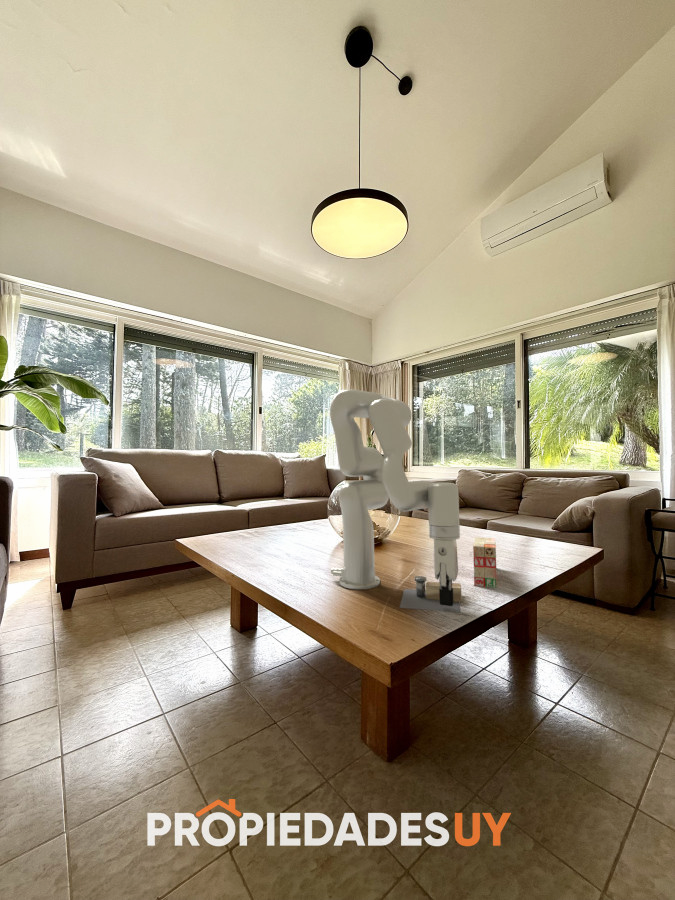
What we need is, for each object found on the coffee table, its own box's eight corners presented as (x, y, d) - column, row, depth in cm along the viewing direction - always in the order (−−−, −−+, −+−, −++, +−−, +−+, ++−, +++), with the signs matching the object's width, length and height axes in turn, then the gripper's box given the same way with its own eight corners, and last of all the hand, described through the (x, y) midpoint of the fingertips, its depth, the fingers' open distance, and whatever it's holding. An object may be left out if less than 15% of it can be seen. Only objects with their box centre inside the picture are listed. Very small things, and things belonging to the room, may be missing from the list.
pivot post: (414, 597, 103) (414, 579, 103) (415, 593, 106) (414, 575, 106) (426, 598, 102) (426, 580, 102) (427, 594, 105) (426, 576, 105)
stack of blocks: (477, 567, 131) (475, 531, 131) (496, 568, 128) (495, 532, 129) (474, 587, 111) (472, 545, 111) (497, 589, 109) (495, 546, 109)
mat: (399, 608, 96) (399, 607, 96) (404, 589, 110) (404, 588, 110) (460, 613, 93) (460, 612, 93) (458, 593, 106) (458, 592, 106)
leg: (461, 602, 99) (460, 588, 99) (426, 598, 102) (425, 585, 102) (461, 598, 101) (461, 584, 102) (427, 594, 105) (427, 581, 105)
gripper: (457, 538, 87) (459, 618, 86) (461, 526, 101) (464, 595, 100) (424, 536, 90) (426, 614, 89) (433, 525, 104) (435, 592, 103)
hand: (446, 604), depth 95 cm, fingers closed
